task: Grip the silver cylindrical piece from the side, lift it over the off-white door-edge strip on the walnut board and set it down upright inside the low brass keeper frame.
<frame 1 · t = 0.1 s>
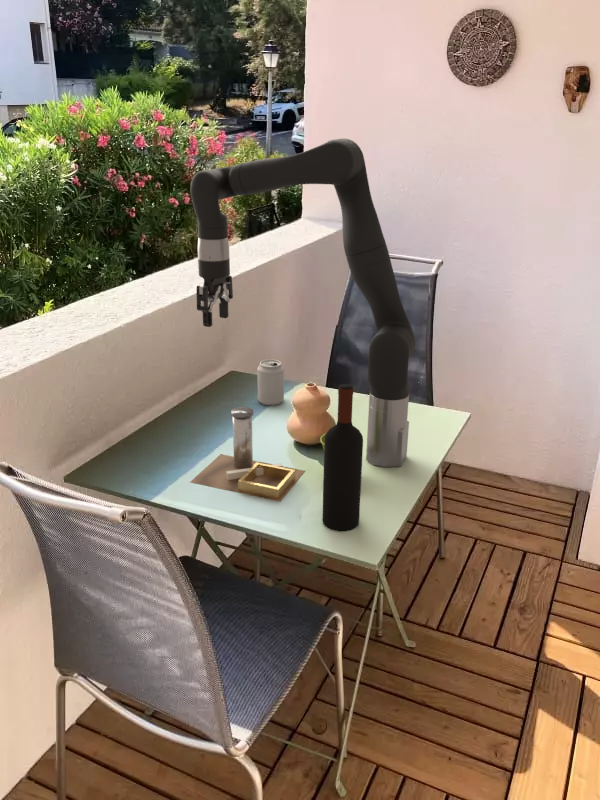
hand: (216, 321, 180), 29 cm above the table, tool pointing down, fingers open, 8 cm apart
board: (248, 480, 165), on the table
plant pot: (339, 473, 169), on the table
can: (270, 402, 208), on the table
silver cylindrical piece: (243, 465, 170), point 1 cm above the table, touching board
keeper: (267, 488, 162), resting on board
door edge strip: (255, 478, 166), resting on board
wine bottle: (340, 522, 150), on the table
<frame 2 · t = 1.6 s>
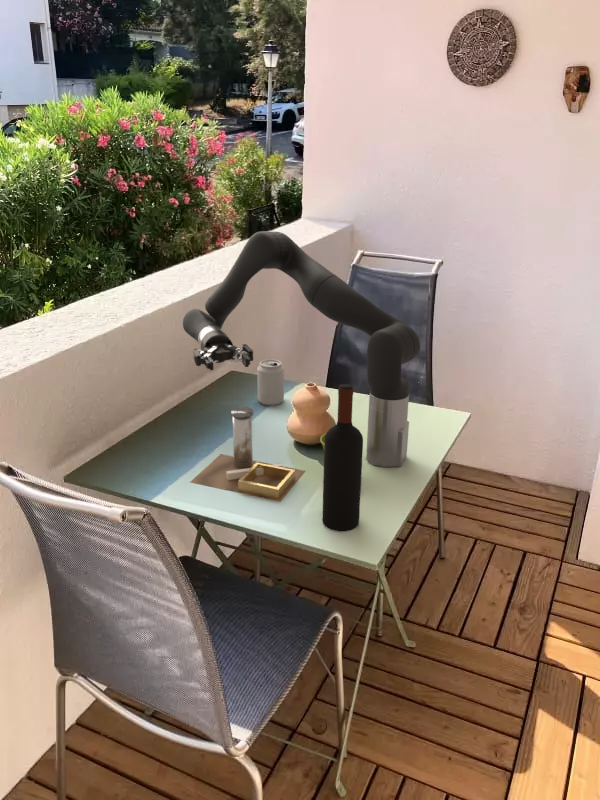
hand: (229, 364, 172), 22 cm above the table, tool horizontal, fingers open, 8 cm apart
nothing on the table moved.
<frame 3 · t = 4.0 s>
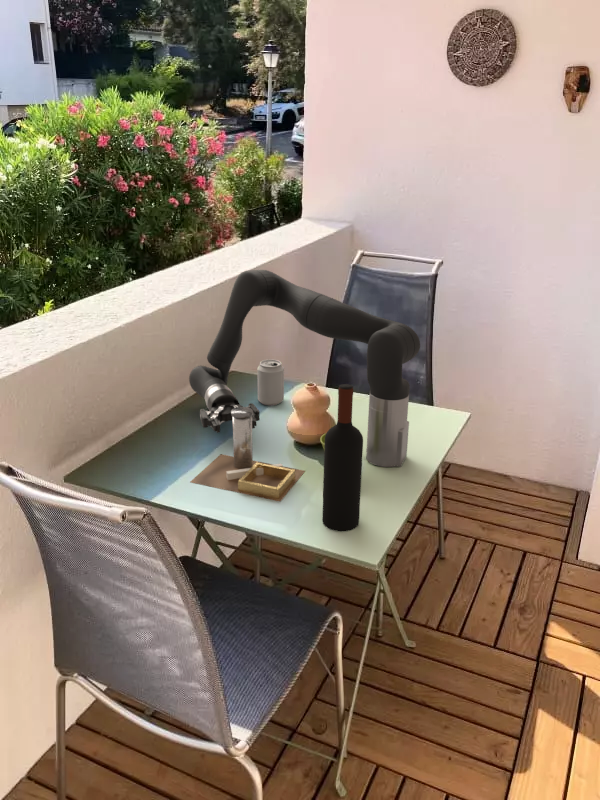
hand: (236, 426, 173), 8 cm above the table, tool horizontal, fingers open, 8 cm apart
nothing on the table moved.
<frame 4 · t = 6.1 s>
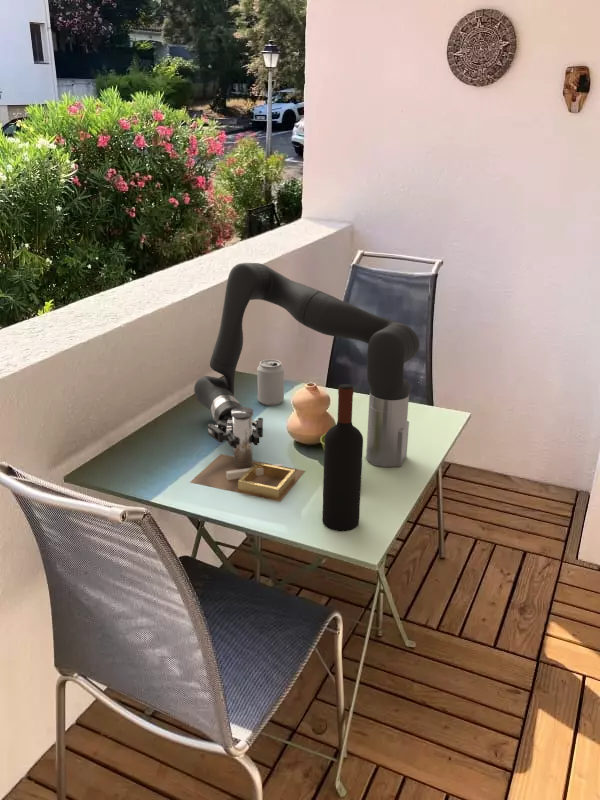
hand: (245, 443, 165), 8 cm above the table, tool horizontal, fingers closed on silver cylindrical piece, 4 cm apart
silver cylindrical piece: (243, 465, 170), point 1 cm above the table, touching board, gripper
everything else where it was.
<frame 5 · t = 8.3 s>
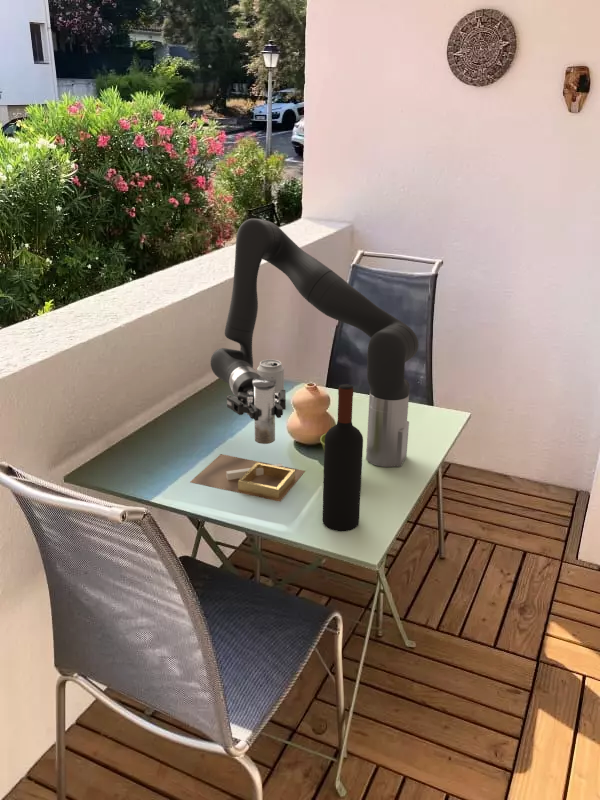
hand: (268, 415, 153), 19 cm above the table, tool horizontal, fingers closed on silver cylindrical piece, 4 cm apart
silver cylindrical piece: (264, 439, 158), point 12 cm above the table, touching gripper
everything else where it was.
when the fingers open (9 cm above the table, at t = 10.6 s): silver cylindrical piece drops 1 cm, resting on board.
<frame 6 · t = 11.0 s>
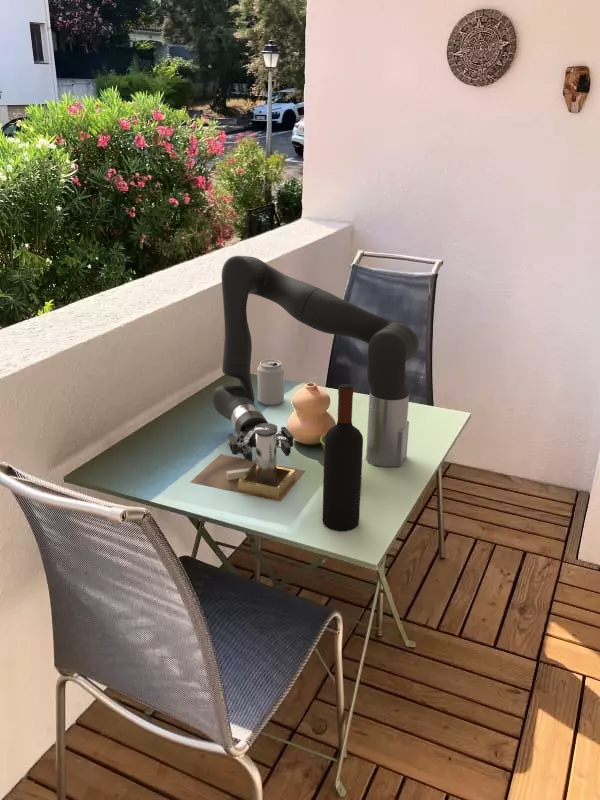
hand: (269, 454, 156), 10 cm above the table, tool horizontal, fingers open, 8 cm apart
silver cylindrical piece: (266, 484, 161), point 1 cm above the table, touching board
everything else where it was.
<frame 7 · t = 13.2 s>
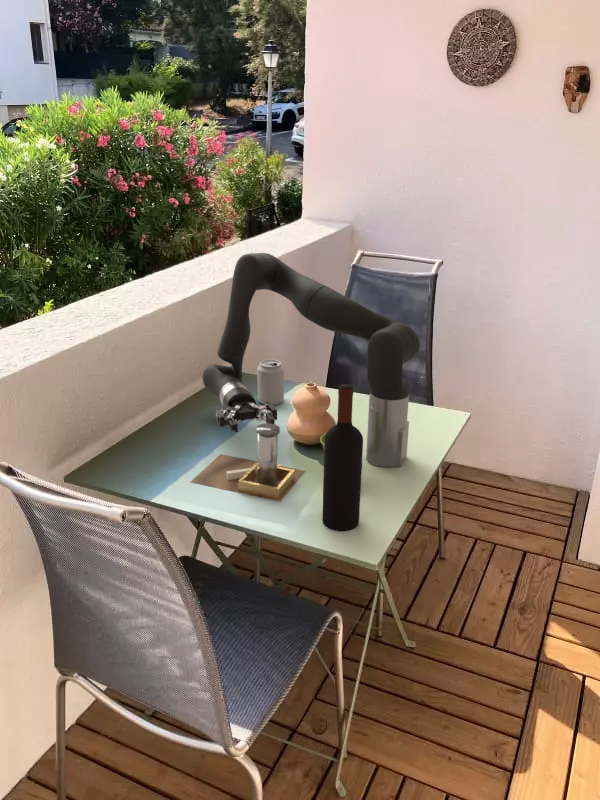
hand: (254, 426, 168), 10 cm above the table, tool horizontal, fingers open, 8 cm apart
nothing on the table moved.
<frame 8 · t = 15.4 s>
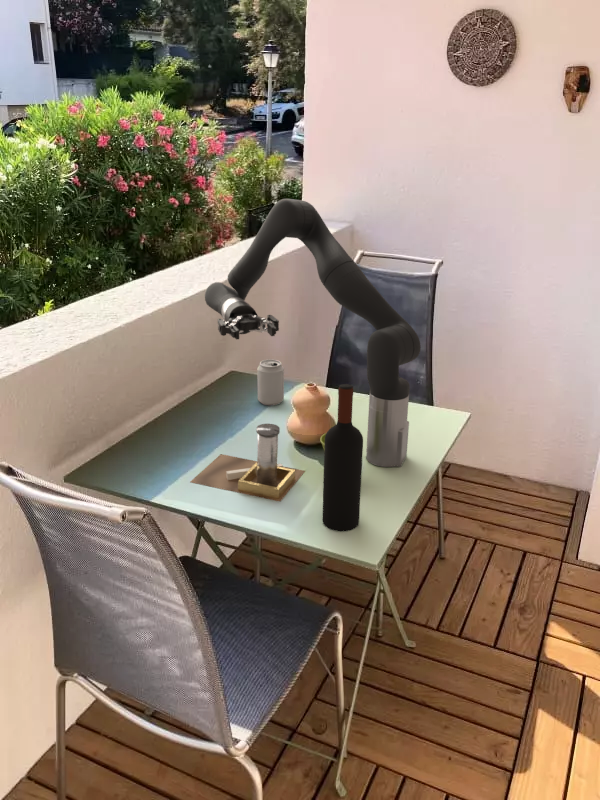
hand: (255, 333, 168), 30 cm above the table, tool horizontal, fingers open, 8 cm apart
nothing on the table moved.
at the end: silver cylindrical piece inside the target area on the keeper (0.1 cm from its centre), point 1.1 cm above the keeper's base; silver cylindrical piece tilted 3°; the gripper is holding nothing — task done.
